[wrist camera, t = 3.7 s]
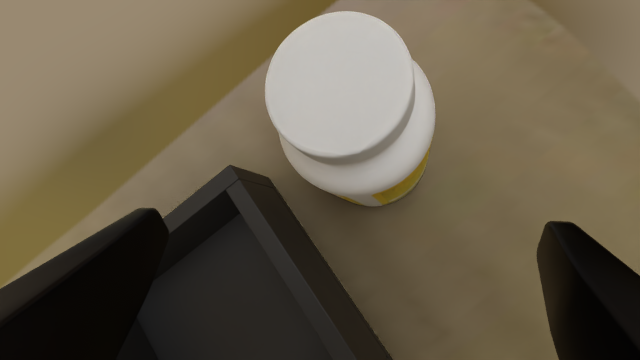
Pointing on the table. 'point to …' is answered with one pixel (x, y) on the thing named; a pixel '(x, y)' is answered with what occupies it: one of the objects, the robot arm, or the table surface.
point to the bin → (245, 285)
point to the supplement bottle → (351, 108)
